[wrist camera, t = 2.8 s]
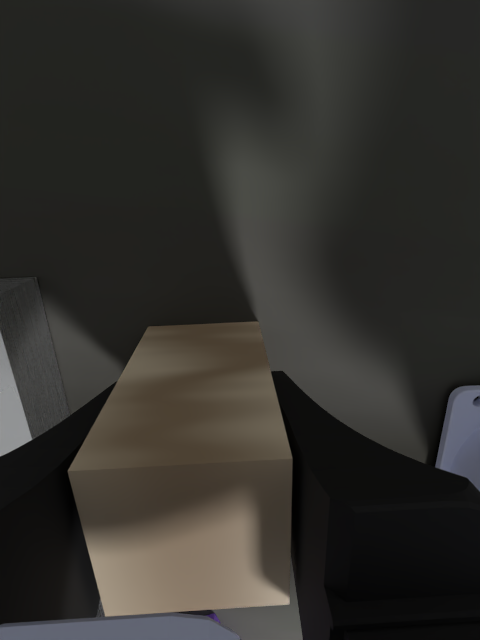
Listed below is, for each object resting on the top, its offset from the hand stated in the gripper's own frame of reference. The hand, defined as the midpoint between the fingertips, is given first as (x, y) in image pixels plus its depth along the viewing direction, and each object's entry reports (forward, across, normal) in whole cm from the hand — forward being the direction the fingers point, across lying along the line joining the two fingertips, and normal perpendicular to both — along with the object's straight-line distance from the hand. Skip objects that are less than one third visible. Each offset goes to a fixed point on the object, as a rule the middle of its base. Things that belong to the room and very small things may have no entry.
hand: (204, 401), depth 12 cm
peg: (+2, 0, 0) cm, 2 cm away
